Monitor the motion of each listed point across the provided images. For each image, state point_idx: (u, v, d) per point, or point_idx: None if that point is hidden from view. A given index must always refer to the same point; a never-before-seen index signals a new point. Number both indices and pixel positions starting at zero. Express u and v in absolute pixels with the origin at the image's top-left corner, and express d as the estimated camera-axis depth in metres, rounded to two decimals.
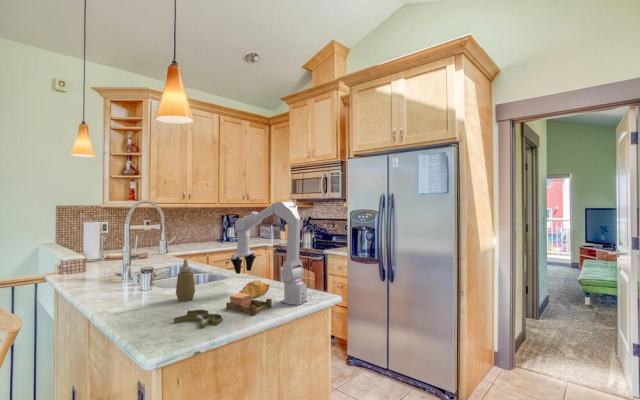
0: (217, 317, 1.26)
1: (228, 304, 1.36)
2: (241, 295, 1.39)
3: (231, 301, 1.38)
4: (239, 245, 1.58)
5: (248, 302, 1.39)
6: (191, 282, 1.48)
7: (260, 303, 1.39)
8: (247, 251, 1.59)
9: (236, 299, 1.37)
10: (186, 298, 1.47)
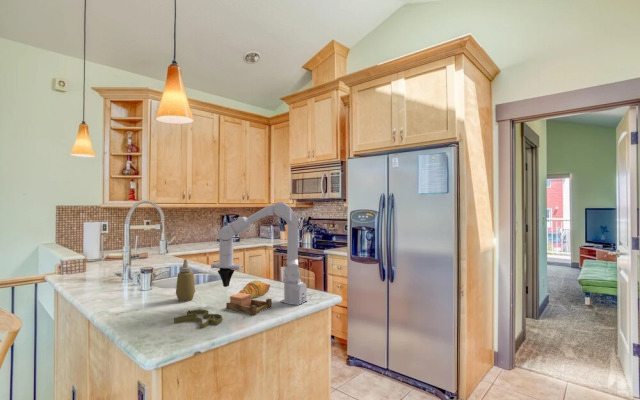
0: (217, 317, 1.26)
1: (228, 304, 1.36)
2: (241, 295, 1.39)
3: (231, 301, 1.38)
4: None
5: (248, 302, 1.39)
6: (191, 282, 1.48)
7: (260, 303, 1.39)
8: (221, 263, 1.41)
9: (236, 299, 1.37)
10: (186, 298, 1.47)
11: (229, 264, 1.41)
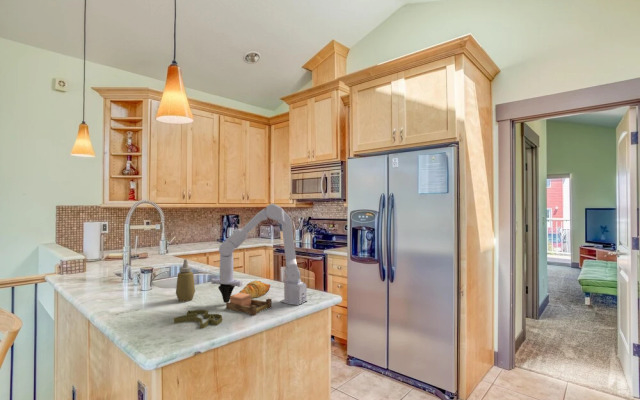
0: (217, 317, 1.26)
1: (228, 304, 1.36)
2: (241, 295, 1.39)
3: (231, 301, 1.38)
4: None
5: (248, 302, 1.39)
6: (191, 282, 1.48)
7: (260, 303, 1.39)
8: (221, 279, 1.41)
9: (236, 299, 1.37)
10: (186, 298, 1.47)
11: (229, 280, 1.41)
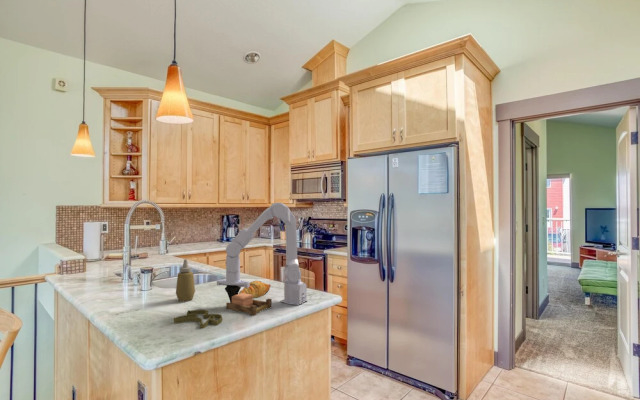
0: (217, 317, 1.26)
1: (228, 304, 1.36)
2: (243, 295, 1.39)
3: (233, 301, 1.37)
4: None
5: (250, 302, 1.39)
6: (191, 282, 1.48)
7: (260, 303, 1.39)
8: (228, 280, 1.39)
9: (238, 299, 1.36)
10: (186, 298, 1.47)
11: (236, 281, 1.40)
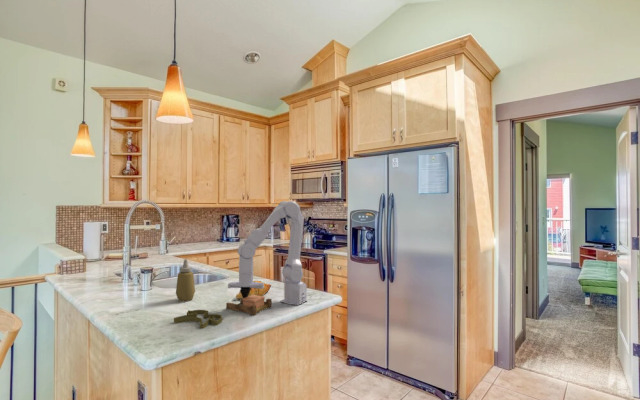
0: (217, 317, 1.26)
1: (228, 304, 1.36)
2: (254, 297, 1.36)
3: (244, 303, 1.35)
4: None
5: (261, 304, 1.36)
6: (191, 282, 1.48)
7: None
8: (243, 282, 1.36)
9: (249, 301, 1.33)
10: (186, 298, 1.47)
11: (251, 282, 1.37)
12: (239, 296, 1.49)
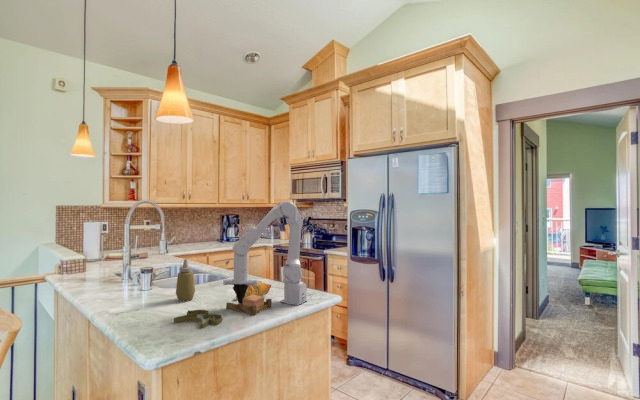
0: (217, 317, 1.26)
1: (228, 304, 1.36)
2: (254, 297, 1.36)
3: (244, 303, 1.35)
4: None
5: (261, 304, 1.36)
6: (191, 282, 1.48)
7: None
8: (237, 279, 1.37)
9: (249, 301, 1.33)
10: (186, 298, 1.47)
11: (245, 280, 1.38)
12: None
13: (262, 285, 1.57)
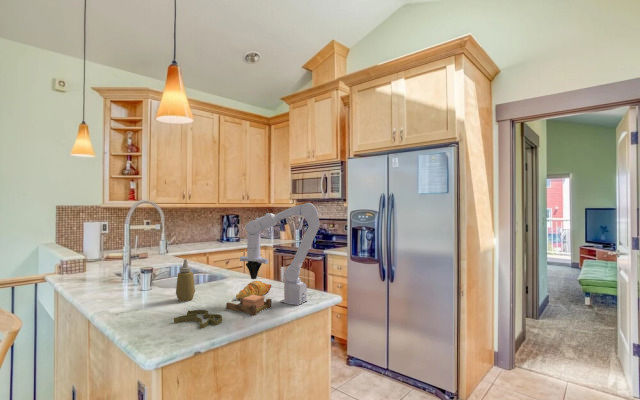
0: (217, 317, 1.26)
1: (228, 304, 1.36)
2: (254, 297, 1.36)
3: (244, 303, 1.35)
4: None
5: (261, 304, 1.36)
6: (191, 282, 1.48)
7: None
8: (249, 256, 1.45)
9: (249, 301, 1.33)
10: (186, 298, 1.47)
11: (256, 257, 1.45)
12: (239, 296, 1.49)
13: (262, 285, 1.56)
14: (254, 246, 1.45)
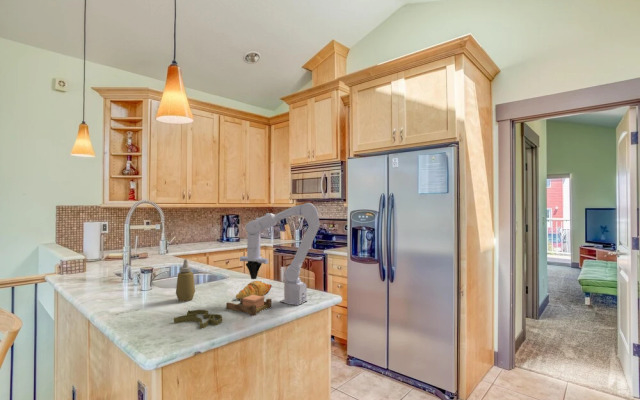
0: (217, 317, 1.26)
1: (228, 304, 1.36)
2: (254, 297, 1.36)
3: (244, 303, 1.35)
4: None
5: (261, 304, 1.36)
6: (191, 282, 1.48)
7: None
8: (249, 256, 1.45)
9: (249, 301, 1.33)
10: (186, 298, 1.47)
11: (256, 257, 1.45)
12: (239, 296, 1.49)
13: (262, 285, 1.56)
14: (254, 246, 1.45)
